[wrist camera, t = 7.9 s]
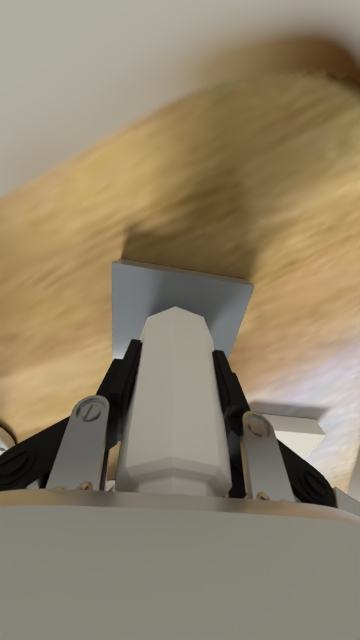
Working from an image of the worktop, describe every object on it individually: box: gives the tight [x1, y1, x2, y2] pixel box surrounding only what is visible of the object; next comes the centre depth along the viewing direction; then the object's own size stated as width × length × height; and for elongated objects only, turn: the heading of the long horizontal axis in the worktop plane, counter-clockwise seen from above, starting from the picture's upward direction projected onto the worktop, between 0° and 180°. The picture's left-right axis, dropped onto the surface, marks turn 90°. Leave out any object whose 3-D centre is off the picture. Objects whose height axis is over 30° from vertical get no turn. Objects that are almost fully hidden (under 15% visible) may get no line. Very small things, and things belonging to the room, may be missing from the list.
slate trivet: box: [112, 259, 254, 360], centre depth 15 cm, size 10×10×2 cm
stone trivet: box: [261, 414, 326, 459], centre depth 23 cm, size 10×10×2 cm
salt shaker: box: [114, 306, 232, 497], centre depth 8 cm, size 5×5×11 cm
